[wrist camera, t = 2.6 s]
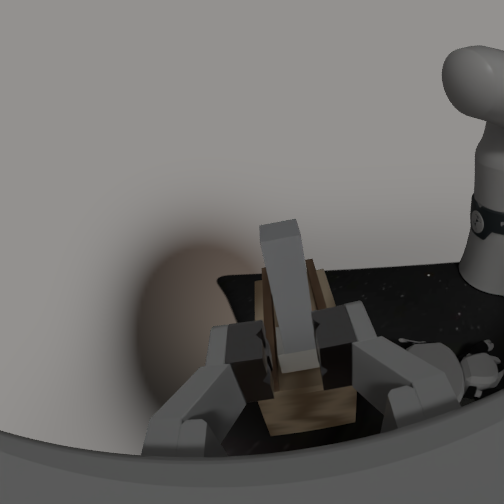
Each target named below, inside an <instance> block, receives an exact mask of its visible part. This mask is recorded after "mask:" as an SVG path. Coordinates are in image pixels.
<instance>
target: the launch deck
mask: <svg viewBox="0 0 504 504" xmlns="http://www.w3.org/2000/svg"><path fill="white" fill-rule="evenodd" d="M305 261H306V268H307V272H306V273H307V279H308V286H309V293H310V301H311V306H312V309H313V311H315V310H320V309H325V308H330V307H335V306H336V305H335V302H334V299H333V296H332V293H331V290H330V287H329V284H328V281H327V278H326V275H325V272H324V269H320V270H316V269H315V266H314V263H313V260H312V259H308V260H305ZM257 320H262V321H263V323H264V326H265V329H266V339H267V340H268V341H269V345H270V350H271V356H272V364H273V370H272V372H271V374H272V377H273V381H274V399H269V400H262V401H258V404H259V406H260V409H261V412H262V414H263V417H264V420H265V422H266V425H267V428H268V430H269V433H270V435H271V436H276V435H284V434H291V433H298V432H305V431H311V430H317V429H323V428H328V427H333V426H339V425H344V424H348V423H353V422H355V418H356V400H357V390H355V389H354V388H353V387H352V386H347V387H342V388H336V389H330V390H324V389H323V384H322V379H321V374H320V367H318V368H312V369H307V370H301V371H295V372H289V373H282V371H281V367H280V363H279V359H278V353H277V339H276V327H279V324H278V320H277V315H276V311H275V306H274V302H273V297H272V293H271V288H270V284H269V280H268V275H267V271H266V267H265V268H262V280H260V281H255V321H257Z"/></svg>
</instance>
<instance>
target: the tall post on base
mask: <svg viewBox="0 0 504 504" xmlns="http://www.w3.org/2000/svg"><path fill="white" fill-rule="evenodd" d="M260 244H261V248H262V252H263V257H264V262H265V266H266V271H267V275H268V280H269V284H270V288H271V293H272V297H273V302H274V306H275V311H276V315H277V320H278V324H279V327H276V339H277V353H278V359H279V363H280V367H281V371H282V373H289V372H295V371H301V370H307V369H312V368H318V367H320V366H319V362H318V358H317V353H316V347H315V340H314V329H313V324H312V318H311V311H312V308H311V301H310V293H309V286H308V279H307V273H306V266H305V259H304V253H303V247H302V240H301V234H300V231H299V228H298V224H297V221H296V219H292V220H287V221H281V222H277V223H271V224H266V225H261V226H260Z"/></svg>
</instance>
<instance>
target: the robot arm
mask: <svg viewBox="0 0 504 504" xmlns="http://www.w3.org/2000/svg"><path fill="white" fill-rule="evenodd" d="M442 81H443V87H444V90H445V92H446V95H447V97H448V99H449V100H450V102H451V103H452V105H453V106H454V107H455V108H456V109H457V110H458V111H460V112H461V113H463V114H465V115H467V116H471V117H474V118H477V119H481V120H484V121H487V122H486V127H485V131H484V134H483V137H482V139H481V141H480V142H479V144H478V146H477V148H476V152H475V187H474V194H473V195H472V201H471V202H472V203H471V213H470V218H471V229H470V233H469V237H468V241H467V245H466V248H465V251H464V254H463V256H462V259H461V261H460V263H459V271H460V273H461V275H462V277H463V278H464V279H465V280H466V281H467V282H468V283H469V284H470V285H472V286H473V287H475V288H477V289H479V290H481V291H484V292H487V293H491V294H497V295H502V296H504V51H503V50H499V49H494V48H490V47H486V46H470V47H465V48H461V49H457V50H455V51H453V52H451V53H450V54H449V55H448V57H447V58H446V60H445V62H444V64H443V69H442ZM311 318H312V324H313V329H314V340H315V347H316V353H317V358H318V362H319V366H320V374H321V379H322V384H323V389H324V390H330V389H336V388H342V387H347V386H352V387H353V388H354V389H355V390H357V391H358V392H359V393H360V394H361V395H362V396H363V397H364V398H365V399H367V400H368V401H369V402H370V403H371V404H372V405H373V406H374V407H376V408H377V409H378V410H379V411H380V412H381V413H382V414H383V415H384V418H383V423H382V428H381V433H380V434H376V435H372V436H368V437H364V438H359V439H355V440H350V441H346V442H341V443H336V444H330V445H325V446H319V447H313V448H307V449H300V450H293V451H285V452H277V453H267V454H257V455H244V456H228V454H227V453H226V452H225V450H224V449H223V447H222V446H221V442H222V441H223V439H224V438H225V436H226V435H227V433H228V432H229V430H230V429H231V427H232V426H233V424H234V423H235V421H236V419H237V418H238V416H239V415H240V413H241V412H242V410H243V409H244V407H245V406H246V403H248V402H255V401H262V400H269V399H274V381H273V377H272V374H271V372H272V370H273V364H272V356H271V350H270V345H269V341H268V340H267V339H266V329H265V326H264V323H263V321H262V320H257V321H250V322H243V323H235V324H229V325H221V326H213V327H212V329H211V332H210V339H209V345H208V351H207V358H206V365H205V366H203V367H200V368H199V369H198V370H197V371H196V372H195V373H194V374H193V375H192V376H191V377H190V378H189V379H188V380H187V381H186V382H185V384H184V385H183V386H182V387H181V388H180V389H179V390H178V391H177V392H176V393H175V394H174V395H173V396H172V397H171V398H170V399H169V400H168V401H167V402H166V403H165V404H164V405H163V406H162V407H161V408H160V409H159V410H158V411H157V412H156V413H155V414H154V415H153V416H152V417H151V418H150V420H149V424H148V428H147V433H146V437H145V441H144V445H143V449H142V454H141V455H128V454H118V453H109V452H100V451H93V450H85V449H79V448H73V447H68V446H62V445H57V444H52V443H47V442H43V441H38V440H33V439H30V438H25V437H22V436H18V435H14V434H11V433H7V432H3V431H0V504H504V389H502V390H500V391H498V392H496V393H493V394H491V395H489V396H487V397H485V398H482V399H480V400H478V401H475V402H473V403H470V404H468V405H465V406H463V407H461V406H460V404H459V401H458V399H457V397H456V395H455V393H454V391H453V389H452V387H451V385H450V383H449V381H448V378H447V376H446V374H445V372H443V371H441V370H439V369H438V368H436V367H434V366H432V365H431V364H429V363H427V362H426V361H424V360H422V359H420V358H419V357H417V356H415V355H413V354H412V353H410V352H408V351H407V350H405V349H403V348H401V347H400V346H398V345H396V344H395V343H393V342H391V341H389V340H388V339H386V338H384V337H383V336H381V337H377V336H376V333H375V331H374V328H373V326H372V324H371V321H370V319H369V317H368V314H367V312H366V310H365V307H364V305H363V303H362V302H361V301H356V302H351V303H347V304H344V305H340V306H335V307H330V308H325V309H320V310H315V311H311Z"/></svg>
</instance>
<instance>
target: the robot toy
mask: <svg viewBox="0 0 504 504" xmlns="http://www.w3.org/2000/svg"><path fill="white" fill-rule="evenodd" d="M398 340H399V341H400V342H407V343H413V345H412V346H410V347H409V348H407V349H406V350H407V351H408V352H410V353H412V354H413V355H415V356H417V357H419V358H420V359H422V360H424V361H426V362H427V363H429V364H431V365H432V366H434V367H436V368H438V369H439V370H441V371H443V372H445V374H446V376H447V378H448V381H449V383H450V385H451V387H452V389H453V391H454V393H455V395H456V397H457V399H458V401H459V403H460V401H461V399H462V397H463V394H464V395H465V396H464V397H466V398H469V399H472V398H473V397H474V396H475V397H479V398H480V399H482V398H485V397H487V396H489V395H491V394H493V393H496V392H498V391H500V390H499V389H495V388H494V387H496V386H497V385H498V383H499V381H500V379H501V378H502V376H503V374H504V366H503V365H502V364H500V362H501V361H500V360H499V358H498V357H494V356H490V355H488V354H487V353H488V351H490V350H492V349H493V347H494V345H493V343H491V344H490V342H491V341H490V340H485V341H481V342H479V343H477V344H475V345H474V346H473V347H472V349H471V350H470V352H469V354H467V355H466V354H464V353H463V354H462V355H460V356H458V357H456V356H455V354H454V353H453V351H452V350H451V349H449V348H448V347H447V346H445V345H443V344H442V343H436V342H424V341H422V342H417V341H411V340H405V339H402V338H401V339H398Z"/></svg>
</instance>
